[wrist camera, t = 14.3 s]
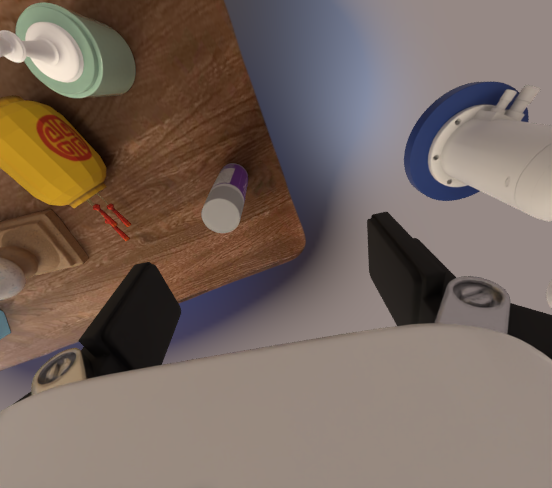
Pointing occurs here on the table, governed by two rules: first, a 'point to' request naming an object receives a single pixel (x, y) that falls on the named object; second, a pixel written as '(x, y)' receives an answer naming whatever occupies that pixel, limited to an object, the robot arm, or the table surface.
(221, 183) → the container
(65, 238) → the candle holder
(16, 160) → the lantern
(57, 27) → the chess piece
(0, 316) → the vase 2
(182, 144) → the table surface
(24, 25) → the upturned tumbler
